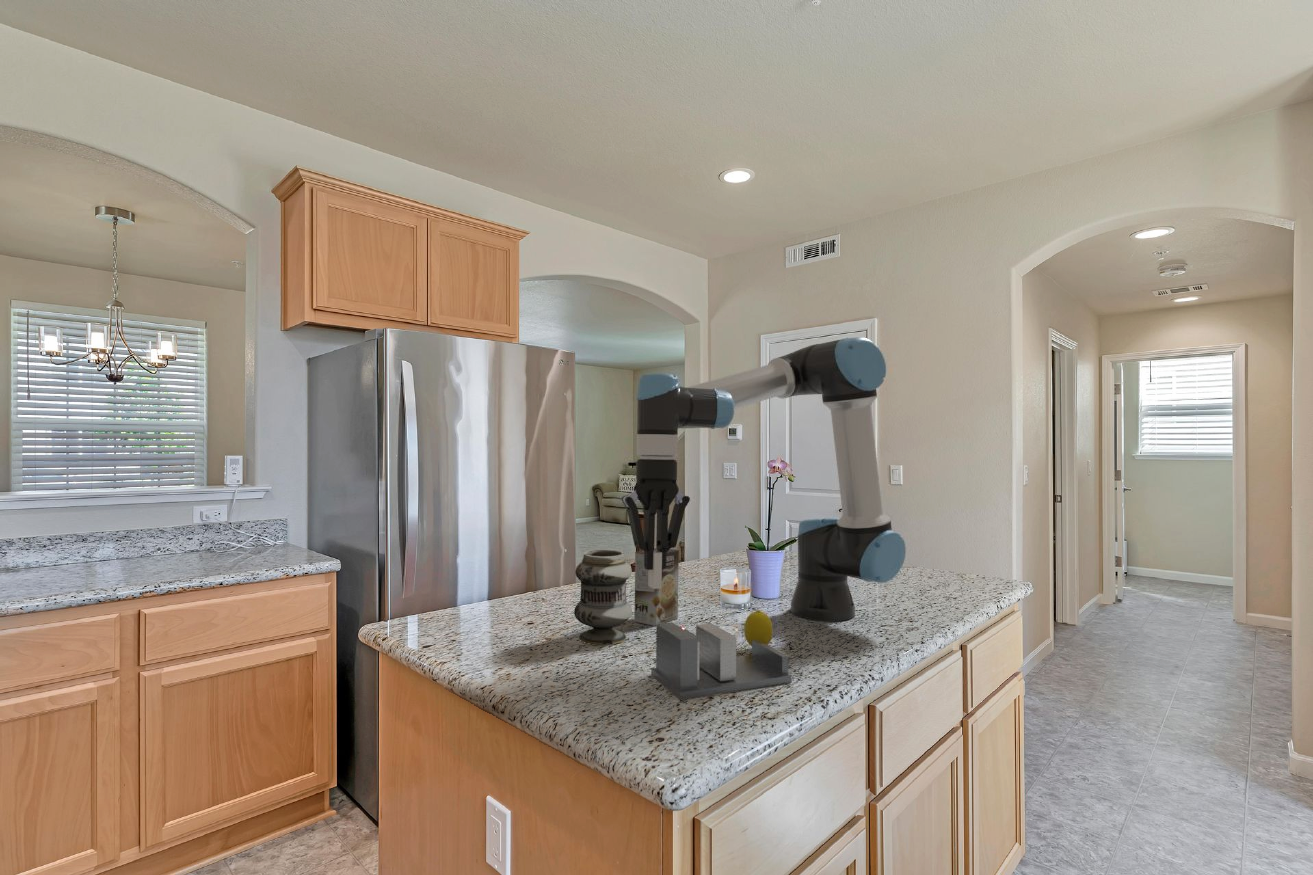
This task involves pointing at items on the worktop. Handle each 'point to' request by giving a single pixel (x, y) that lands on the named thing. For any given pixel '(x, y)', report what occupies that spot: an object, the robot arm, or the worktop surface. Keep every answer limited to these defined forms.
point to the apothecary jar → (603, 596)
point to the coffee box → (656, 591)
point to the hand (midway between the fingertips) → (654, 587)
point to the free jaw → (716, 651)
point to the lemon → (758, 628)
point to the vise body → (691, 681)
